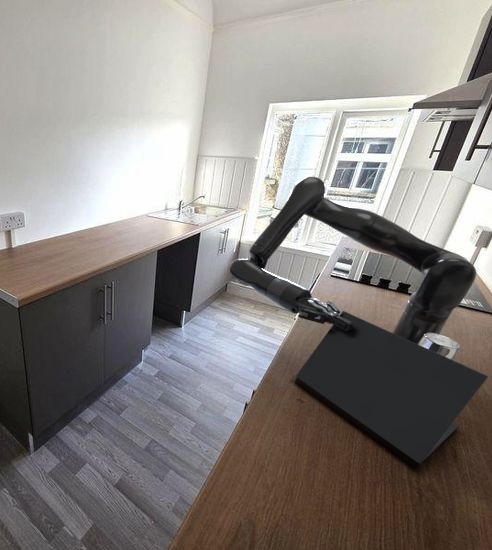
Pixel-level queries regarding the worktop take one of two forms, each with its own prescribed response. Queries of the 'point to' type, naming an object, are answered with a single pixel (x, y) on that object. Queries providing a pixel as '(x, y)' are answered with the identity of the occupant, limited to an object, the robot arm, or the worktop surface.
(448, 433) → the laptop
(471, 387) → the laptop screen
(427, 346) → the beer glass
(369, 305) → the worktop surface
